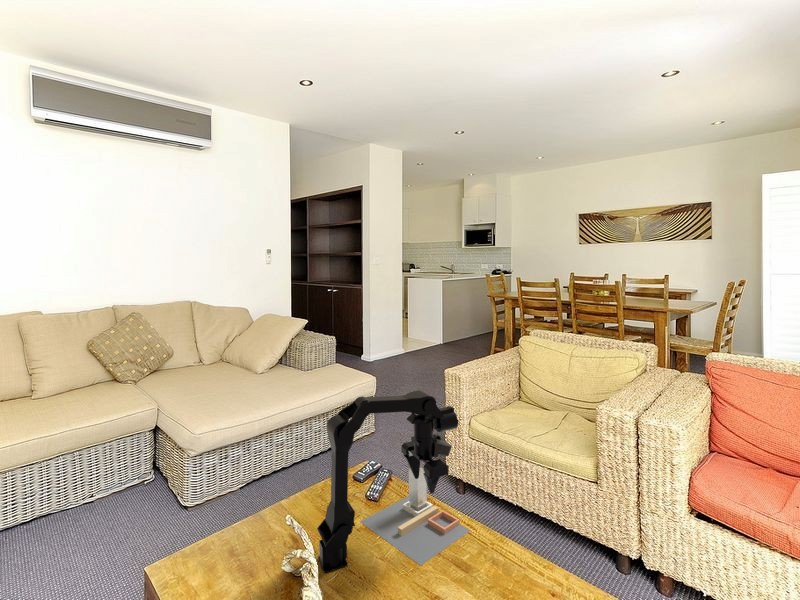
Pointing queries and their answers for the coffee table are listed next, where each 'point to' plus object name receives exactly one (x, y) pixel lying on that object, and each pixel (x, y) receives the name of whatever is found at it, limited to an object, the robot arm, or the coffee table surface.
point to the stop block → (417, 491)
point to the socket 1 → (414, 512)
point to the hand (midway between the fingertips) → (424, 485)
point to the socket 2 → (444, 530)
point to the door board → (413, 531)
